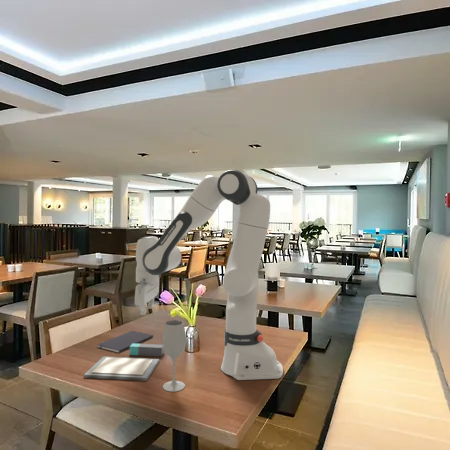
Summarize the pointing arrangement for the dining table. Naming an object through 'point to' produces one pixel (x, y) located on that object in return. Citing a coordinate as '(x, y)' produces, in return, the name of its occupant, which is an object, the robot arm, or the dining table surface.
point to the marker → (146, 349)
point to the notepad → (122, 368)
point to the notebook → (124, 341)
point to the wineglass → (174, 349)
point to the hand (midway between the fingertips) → (147, 311)
